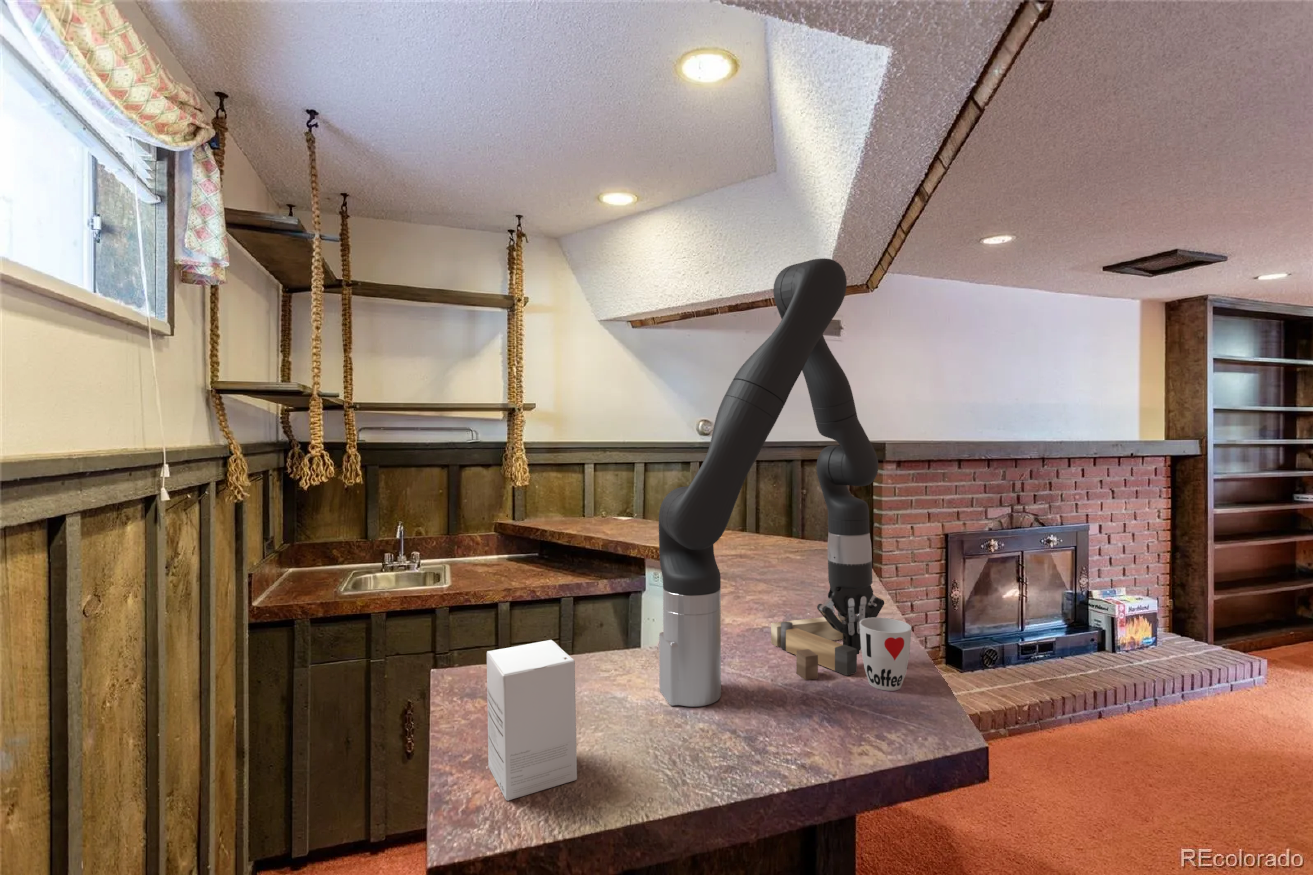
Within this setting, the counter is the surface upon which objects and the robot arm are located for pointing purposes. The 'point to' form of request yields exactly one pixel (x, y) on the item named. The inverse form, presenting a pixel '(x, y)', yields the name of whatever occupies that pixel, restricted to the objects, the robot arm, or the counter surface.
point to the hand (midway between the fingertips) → (852, 653)
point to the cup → (885, 651)
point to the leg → (820, 649)
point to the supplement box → (531, 718)
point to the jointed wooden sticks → (807, 658)
